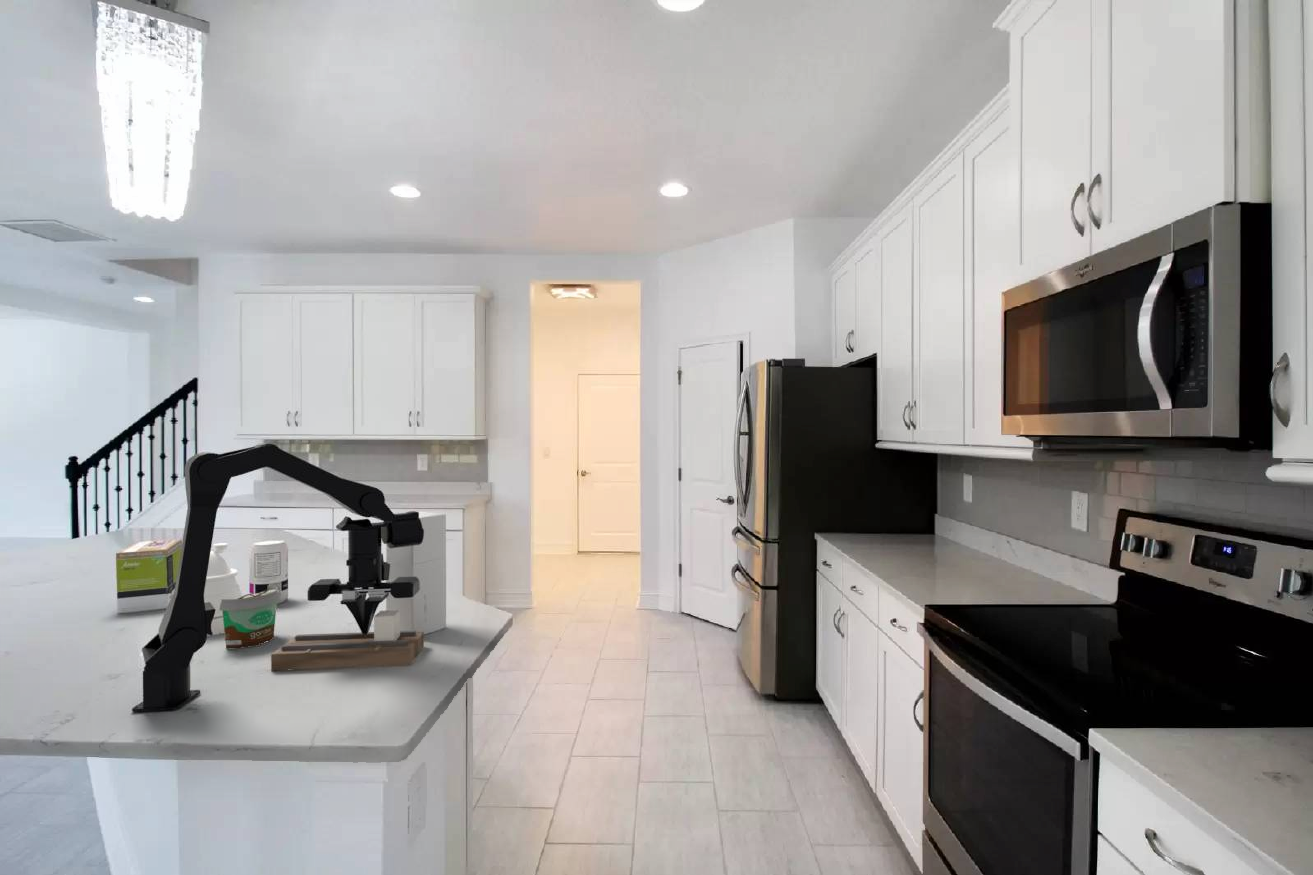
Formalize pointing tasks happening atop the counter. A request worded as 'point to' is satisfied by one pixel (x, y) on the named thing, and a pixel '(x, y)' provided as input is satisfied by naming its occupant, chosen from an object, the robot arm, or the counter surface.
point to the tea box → (147, 575)
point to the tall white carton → (422, 577)
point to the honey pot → (220, 585)
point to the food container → (250, 618)
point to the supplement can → (269, 567)
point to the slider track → (346, 651)
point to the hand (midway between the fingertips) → (365, 633)
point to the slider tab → (387, 625)
